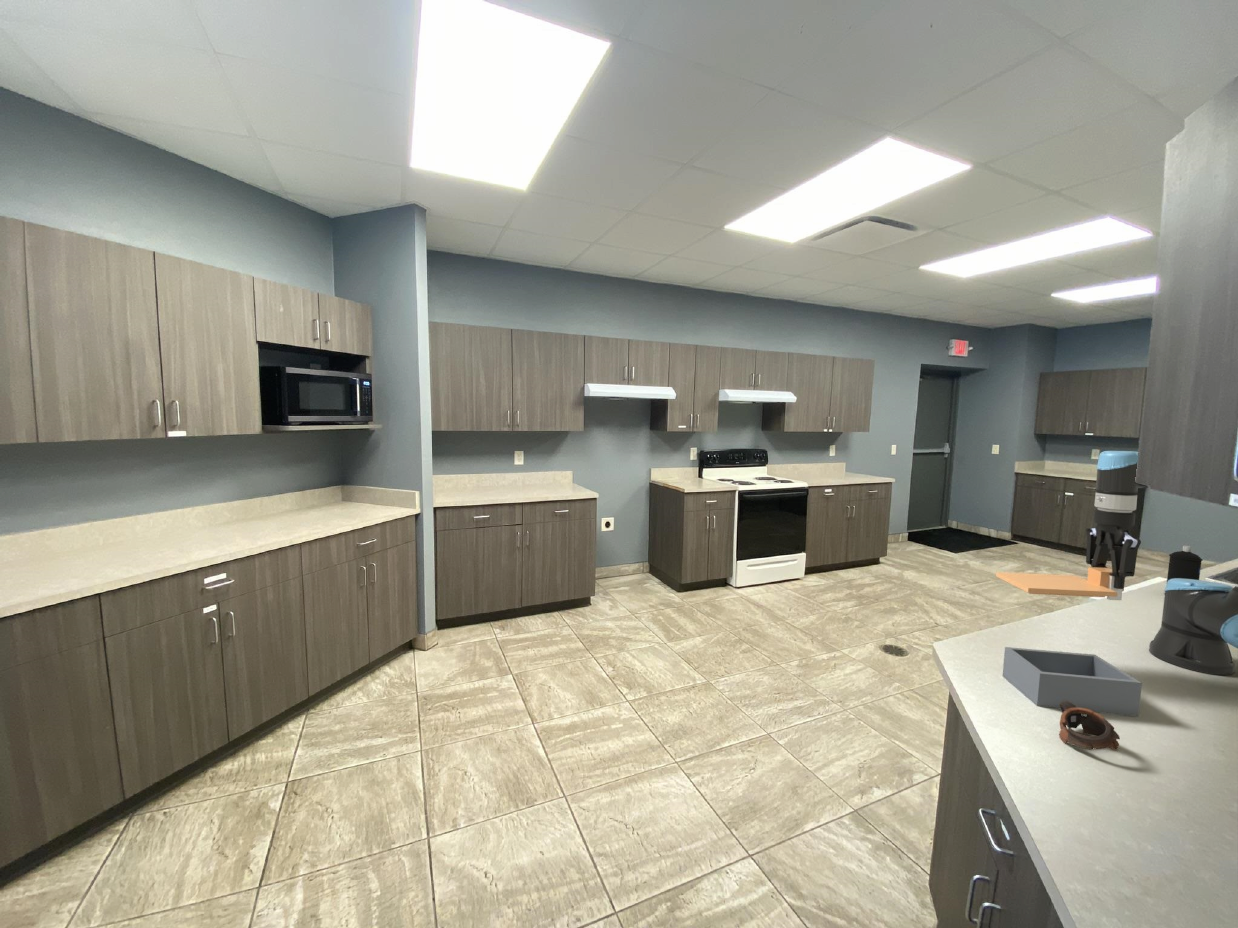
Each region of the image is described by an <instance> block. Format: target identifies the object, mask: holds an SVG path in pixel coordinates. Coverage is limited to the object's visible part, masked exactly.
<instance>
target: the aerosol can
mask: <svg viewBox="0 0 1238 928" xmlns="http://www.w3.org/2000/svg"><path fill="white" fill-rule="evenodd" d="M1191 549H1192V546H1190V545H1183V546H1182V550H1179V551H1174V552H1172V553H1170V554H1168V556H1169V560H1168V561H1169V562H1168V570H1167V575H1166V577H1167V579H1166V582H1167V581H1168V580H1170V579H1174V578H1182V579H1194V580H1200V577H1201V576H1200V575H1201V570H1202V562H1203V558H1201V557H1200V556H1199V555H1198V554H1196V553H1193V552H1191ZM1163 594H1164V595H1165V592H1163Z"/></svg>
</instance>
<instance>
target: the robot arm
mask: <svg viewBox="0 0 1238 928" xmlns="http://www.w3.org/2000/svg"><path fill="white" fill-rule="evenodd" d="M1138 453H1140V452H1139V451H1133V450H1132V451H1131V450H1129V451H1128V450H1105V451H1102V452H1100V453H1099V456H1098V460H1097V461H1098V462H1097V465H1096V481H1095V482H1096V483H1095V497H1094V505H1093V506H1094V507H1095V509H1093V512H1092V513H1093V514H1092V522H1093V523H1095V527H1094V528H1091V527H1089V528H1088V527H1087V528H1086V529H1085V532H1086V555H1085V563H1086V564H1087V565H1090V567H1098V568H1108V567H1107V566H1106V565H1107V563H1108V558H1109V557H1110V561H1111V568H1112V574H1110V573H1109V584H1108V589H1111V590H1113V591H1116V592H1117V597H1111V596H1106V600H1108V601H1122V597H1123V591H1122V589H1124V590H1125V583H1126V578H1128V577H1134V576H1135V571H1136V564H1137V557H1138V550H1139V548H1140V546H1141V543H1142V541H1141V539H1137V538H1134V537H1132V534H1131V532H1130V528H1132V527H1134V526H1135V521H1136V513H1135V512H1134V511H1136V510H1137V503H1138V500H1137V499H1138V490H1139V489H1149V488H1148V487H1147V486H1145V485H1141V484H1138V483H1136V482H1135V477H1136V469H1137V463H1138ZM1118 571H1119V572H1118ZM1163 591H1164V593H1165V594H1164V600H1163V606H1162V607H1163V608H1162V618H1161V625H1160V628H1159V630H1158V631H1157V633H1156V635H1155V636H1154V638H1153V639H1152V640H1151V641H1150V643H1149V646H1148V651H1149V652H1148V653H1150V654H1151V655H1152V656H1154V657H1156V658H1157V659H1159V660H1161V661H1164V662H1166V663H1169V664H1172V665H1174V666H1177V667H1181V668H1183V669H1188V670H1192V671H1195V672H1199V673H1204V674H1205V673H1206V674H1210V675H1217V676H1218V675H1219V676H1229V675H1233V674H1234V673H1235V667H1236V664H1235V661H1234V660H1233V657H1232V653H1231V650H1230V646H1232V647H1234V648H1236V649H1238V585H1235V586H1234V587H1233V586H1232V585H1230V584H1225V583H1222V582H1216V581H1208V580H1202V579H1201V580H1200V579H1199V580H1194V579H1182V578H1174V579H1170V580H1168V581H1167V580H1166V585H1165V589H1164V590H1163ZM1229 645H1230V646H1229Z"/></svg>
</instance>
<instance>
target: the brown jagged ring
mask: <svg viewBox="0 0 1238 928" xmlns="http://www.w3.org/2000/svg"><path fill="white" fill-rule="evenodd" d="M1059 706H1060V708H1059V709H1060V711H1061V712H1062V713H1061V715H1060V718H1059V719H1060V720H1059V727H1060V731H1059V733H1058V736H1059V739H1060V740H1061V741H1062V742H1063V744H1064V743H1065V744H1064V745H1066V744H1070V745H1073V746H1077V747H1080V748H1083V749H1087V750H1093V749H1095V750H1104V749H1110V750H1113V751H1115V750H1116V751H1117V750H1119V746H1120V743H1119V742H1118V740H1120V735H1119V734H1118V733H1117V731H1116V730H1115V727H1114V726H1113V725H1112V724H1111V723H1110V722H1109V721H1108V719H1106V718H1105V717H1104V716H1102V715H1101V714H1100V713H1099V712H1093V711H1092V710H1089V709H1085V708H1077V707H1076V706H1075V705H1074V704H1072V703H1071V702H1069V701H1063V702H1061V703H1060V704H1059ZM1080 725H1081V728H1082V732H1083V734H1082V733H1079V732H1077V731H1075V730H1074V729H1077V728H1078V727H1079V726H1080Z"/></svg>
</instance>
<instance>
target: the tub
mask: <svg viewBox="0 0 1238 928" xmlns="http://www.w3.org/2000/svg"><path fill="white" fill-rule="evenodd" d="M1002 665H1003V667H1002V677H1003V678H1004V679H1005V680H1006V681H1007V682H1008V683H1010V684H1011V685H1012V686H1013V687H1014V688H1015V689H1017V690H1018V692H1020V693H1021V694H1023V695H1024V696H1025V697H1026V698H1027V699H1028V700H1030V702H1031V703H1033V704H1034V705H1035V706H1036V707H1043V708H1044V707H1046V708H1054V709H1060V706H1059V704H1060V703H1061V702H1063V701H1069V702H1071V703H1072V704H1074V705H1075V706H1076V707H1077V708H1085V709H1089V710H1092V711H1093V712H1096V713H1099V714H1100V713H1102V714H1111V715H1119V716H1129V717H1130V716H1131V717H1139V712H1140V705H1141V697H1142V696H1141V695H1142V687H1143V682H1141V681H1140V680H1138V679H1136V678H1135V677H1133V676H1132V675H1129V674H1128V673H1126V672H1125V671H1123V670H1121V669H1120V668H1118V667H1116V666H1115V665H1113V664H1112V663H1109V662H1108V661H1106V660H1104V658H1101V657H1100V656H1098V655H1097V654H1092V653H1079V652H1070V651H1069V652H1068V651H1057V650H1055V651H1054V650H1045V649H1044V650H1043V649H1034V648H1022V647H1012V646H1011V647H1010V646H1009V647H1008V646H1005V647H1004V657H1003V664H1002Z"/></svg>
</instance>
